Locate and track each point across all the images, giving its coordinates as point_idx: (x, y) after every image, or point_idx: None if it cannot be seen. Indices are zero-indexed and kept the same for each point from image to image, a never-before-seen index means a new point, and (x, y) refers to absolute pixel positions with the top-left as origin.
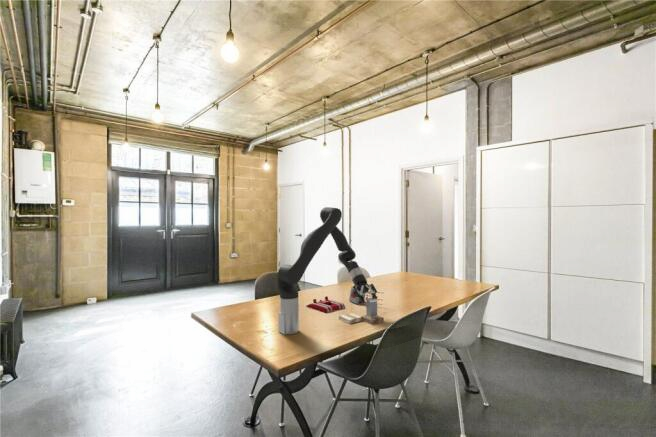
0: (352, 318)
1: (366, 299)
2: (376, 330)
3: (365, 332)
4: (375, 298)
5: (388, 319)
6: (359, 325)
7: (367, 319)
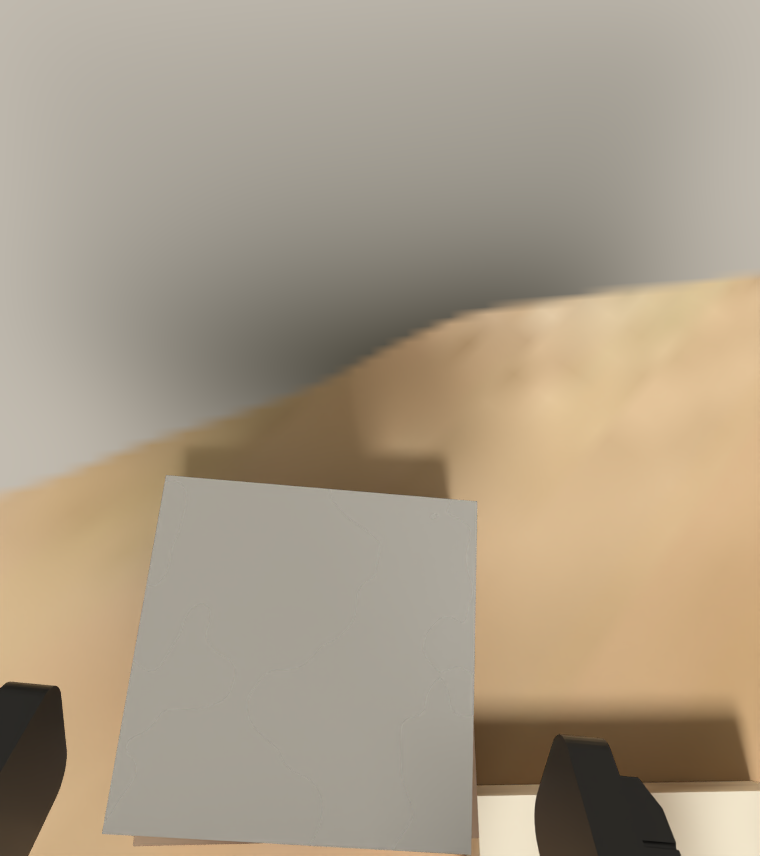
0: (686, 832)
1: (466, 770)
2: (557, 309)
3: (721, 341)
4: (151, 612)
5: (37, 538)
6: (641, 601)
7: None
